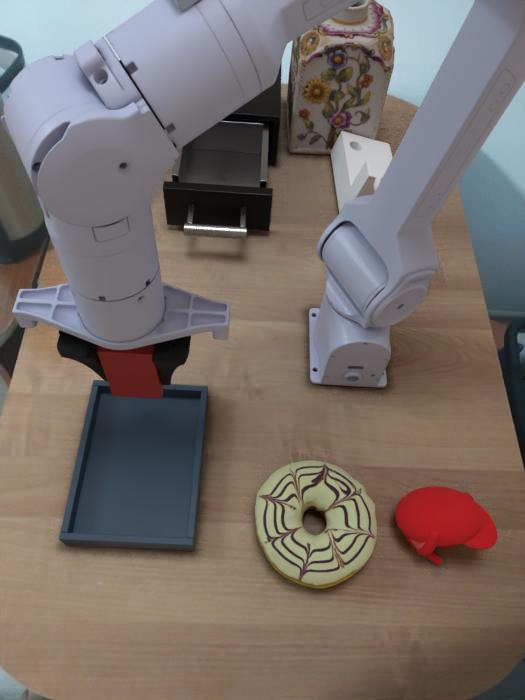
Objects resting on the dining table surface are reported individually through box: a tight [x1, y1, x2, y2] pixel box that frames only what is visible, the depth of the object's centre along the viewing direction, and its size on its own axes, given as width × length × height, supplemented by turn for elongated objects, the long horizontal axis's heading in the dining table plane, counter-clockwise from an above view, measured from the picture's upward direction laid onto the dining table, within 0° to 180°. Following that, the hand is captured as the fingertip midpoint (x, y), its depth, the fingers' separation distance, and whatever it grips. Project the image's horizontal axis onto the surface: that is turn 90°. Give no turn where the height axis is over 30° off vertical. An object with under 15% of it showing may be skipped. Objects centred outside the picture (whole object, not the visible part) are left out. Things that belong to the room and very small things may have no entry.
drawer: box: [162, 118, 274, 240], centre depth 68 cm, size 18×12×6 cm
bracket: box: [330, 131, 393, 214], centre depth 71 cm, size 13×7×8 cm, turn 2°
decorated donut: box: [254, 459, 378, 589], centre depth 49 cm, size 10×11×4 cm
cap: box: [394, 485, 499, 566], centre depth 48 cm, size 8×6×6 cm
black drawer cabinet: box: [172, 61, 283, 167], centre depth 76 cm, size 15×14×8 cm
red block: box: [97, 344, 164, 399], centre depth 44 cm, size 4×4×7 cm
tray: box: [58, 379, 209, 552], centre depth 52 cm, size 15×11×2 cm
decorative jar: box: [286, 0, 396, 156], centre depth 72 cm, size 12×12×18 cm
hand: (140, 372), depth 46 cm, fingers closed on red block, 4 cm apart
